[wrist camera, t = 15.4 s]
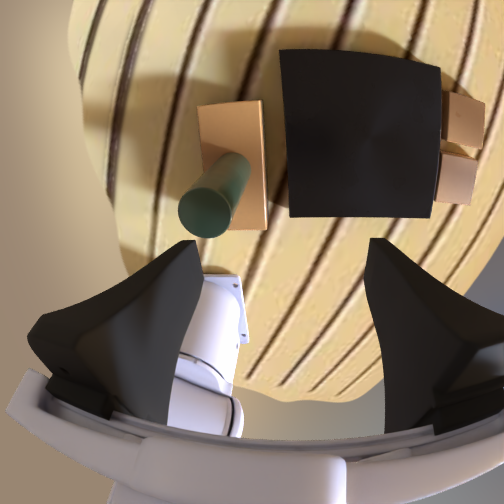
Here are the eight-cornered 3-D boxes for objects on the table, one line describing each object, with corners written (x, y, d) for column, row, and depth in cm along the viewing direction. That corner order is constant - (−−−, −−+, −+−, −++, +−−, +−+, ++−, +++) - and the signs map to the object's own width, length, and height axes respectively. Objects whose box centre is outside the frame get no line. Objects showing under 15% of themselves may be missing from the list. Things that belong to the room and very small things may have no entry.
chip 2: (463, 199, 18) (470, 205, 17) (429, 196, 19) (435, 202, 18) (470, 156, 16) (478, 160, 15) (435, 149, 16) (442, 153, 15)
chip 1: (474, 146, 15) (482, 149, 14) (439, 138, 16) (446, 141, 15) (477, 101, 13) (485, 103, 12) (441, 90, 14) (449, 90, 13)
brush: (268, 215, 21) (256, 297, 14) (219, 216, 22) (181, 293, 14) (262, 99, 17) (242, 101, 9) (206, 104, 17) (143, 116, 9)
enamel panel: (422, 211, 19) (430, 218, 18) (289, 209, 21) (289, 217, 20) (431, 68, 13) (440, 67, 12) (279, 53, 15) (278, 49, 13)
